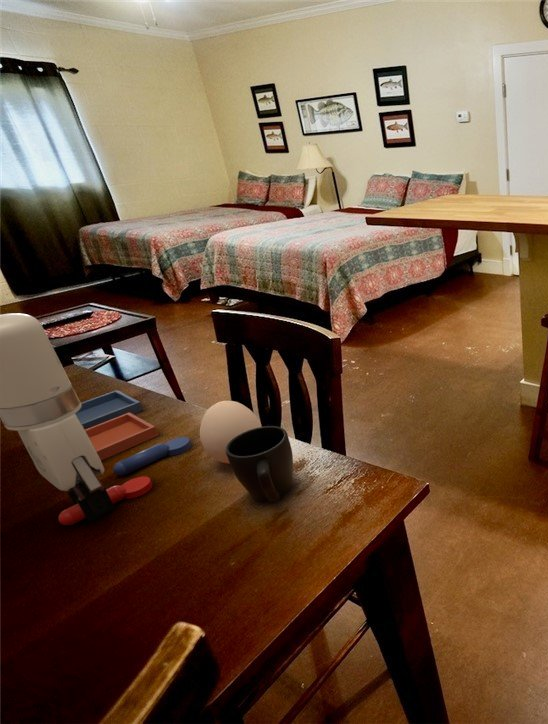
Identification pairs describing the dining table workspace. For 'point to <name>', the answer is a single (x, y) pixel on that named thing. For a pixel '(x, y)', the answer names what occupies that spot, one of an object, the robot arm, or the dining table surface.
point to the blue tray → (106, 408)
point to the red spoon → (115, 493)
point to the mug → (262, 462)
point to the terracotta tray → (119, 434)
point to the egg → (225, 427)
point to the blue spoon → (152, 455)
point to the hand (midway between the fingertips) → (96, 509)
